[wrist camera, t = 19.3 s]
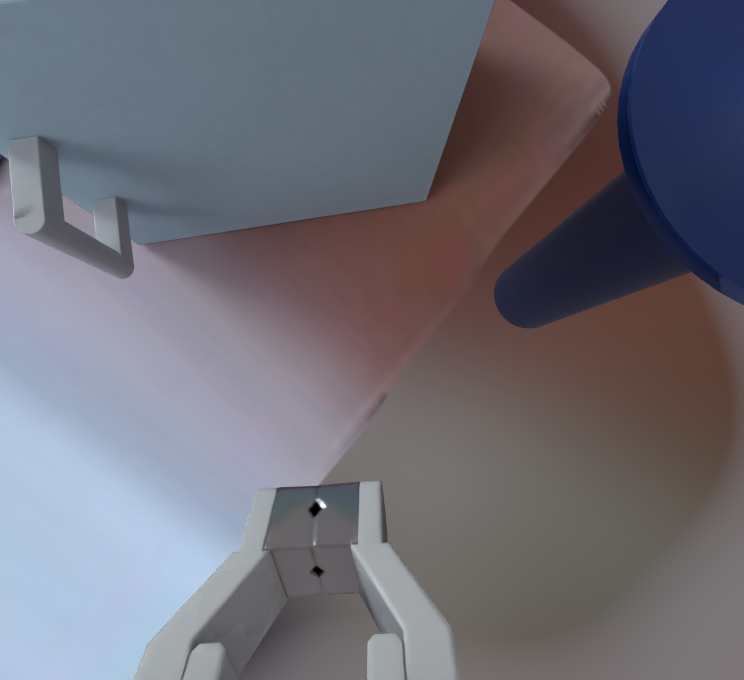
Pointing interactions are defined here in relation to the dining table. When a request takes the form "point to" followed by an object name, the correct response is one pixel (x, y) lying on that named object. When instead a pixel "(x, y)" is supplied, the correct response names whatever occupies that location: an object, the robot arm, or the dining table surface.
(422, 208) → the dining table surface
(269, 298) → the dining table surface
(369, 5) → the cupboard door
